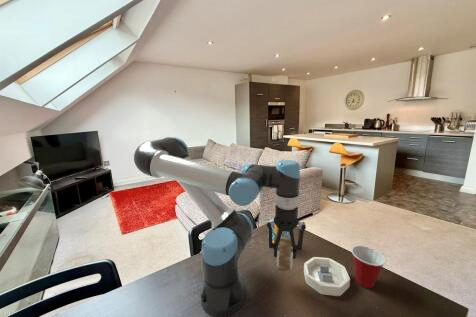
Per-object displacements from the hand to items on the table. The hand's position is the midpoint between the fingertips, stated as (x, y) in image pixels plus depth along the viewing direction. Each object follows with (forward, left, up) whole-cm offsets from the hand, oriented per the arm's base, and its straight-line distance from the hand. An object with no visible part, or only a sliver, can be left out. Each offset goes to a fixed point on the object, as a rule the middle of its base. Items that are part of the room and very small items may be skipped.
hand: (284, 264), depth 78 cm
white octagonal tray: (+16, +4, -8) cm, 18 cm away
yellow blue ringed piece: (-1, +22, -8) cm, 23 cm away
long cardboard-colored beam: (0, 0, -2) cm, 2 cm away
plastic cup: (+30, +4, -8) cm, 31 cm away
